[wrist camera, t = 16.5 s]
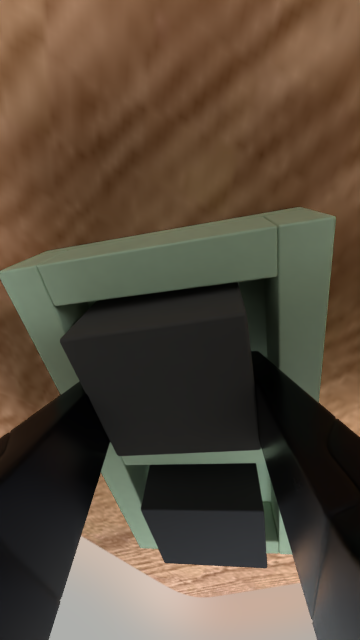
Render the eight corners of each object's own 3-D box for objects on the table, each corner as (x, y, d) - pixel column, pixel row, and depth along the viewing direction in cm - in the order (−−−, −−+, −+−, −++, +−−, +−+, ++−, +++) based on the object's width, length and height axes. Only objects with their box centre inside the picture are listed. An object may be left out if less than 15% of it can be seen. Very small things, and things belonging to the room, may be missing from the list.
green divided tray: (149, 500, 16) (140, 548, 14) (45, 250, 9) (-5, 271, 7) (290, 501, 15) (304, 555, 12) (301, 206, 7) (337, 215, 5)
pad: (172, 492, 14) (164, 563, 12) (154, 439, 12) (139, 510, 10) (255, 493, 13) (267, 568, 11) (251, 436, 11) (264, 512, 9)
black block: (139, 390, 11) (116, 457, 8) (102, 292, 9) (56, 339, 6) (248, 380, 10) (262, 451, 7) (234, 269, 8) (247, 312, 5)
